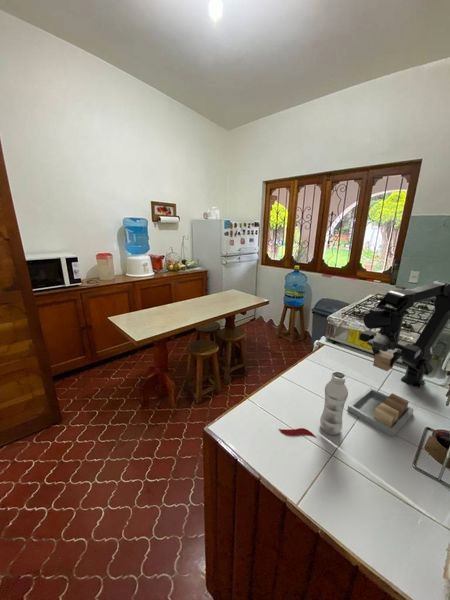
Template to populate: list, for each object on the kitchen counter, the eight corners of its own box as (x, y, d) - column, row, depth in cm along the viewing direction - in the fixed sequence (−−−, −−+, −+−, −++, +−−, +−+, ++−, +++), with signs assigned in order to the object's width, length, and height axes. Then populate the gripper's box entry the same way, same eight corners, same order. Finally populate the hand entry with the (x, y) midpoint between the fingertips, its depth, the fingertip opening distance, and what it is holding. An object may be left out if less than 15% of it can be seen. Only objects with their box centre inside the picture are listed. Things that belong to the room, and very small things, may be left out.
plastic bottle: (340, 424, 80) (349, 370, 74) (342, 441, 74) (352, 384, 68) (318, 419, 82) (326, 366, 76) (319, 435, 76) (327, 379, 70)
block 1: (378, 361, 98) (381, 350, 96) (392, 367, 94) (395, 355, 93) (372, 365, 95) (375, 353, 94) (387, 371, 91) (389, 359, 90)
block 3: (389, 404, 88) (392, 393, 86) (405, 413, 84) (408, 401, 82) (383, 411, 85) (385, 398, 83) (399, 419, 81) (403, 407, 79)
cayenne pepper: (318, 434, 77) (318, 429, 76) (316, 446, 73) (317, 441, 72) (279, 422, 81) (279, 417, 81) (276, 432, 77) (276, 427, 77)
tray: (369, 393, 94) (370, 387, 94) (412, 415, 84) (413, 409, 83) (347, 411, 85) (348, 405, 85) (392, 438, 75) (393, 432, 74)
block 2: (379, 414, 83) (381, 402, 82) (395, 424, 79) (399, 411, 78) (372, 421, 80) (374, 409, 79) (389, 431, 76) (392, 418, 75)
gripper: (354, 322, 92) (348, 359, 97) (413, 341, 78) (402, 383, 83) (369, 316, 99) (362, 351, 103) (426, 332, 84) (415, 372, 89)
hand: (383, 363), depth 94 cm, fingers closed on block 1, 5 cm apart
